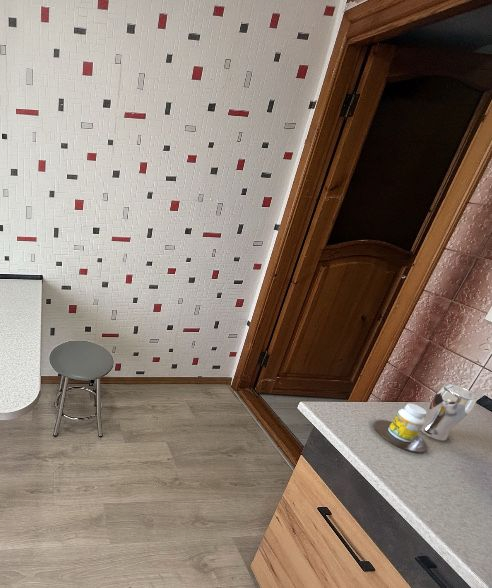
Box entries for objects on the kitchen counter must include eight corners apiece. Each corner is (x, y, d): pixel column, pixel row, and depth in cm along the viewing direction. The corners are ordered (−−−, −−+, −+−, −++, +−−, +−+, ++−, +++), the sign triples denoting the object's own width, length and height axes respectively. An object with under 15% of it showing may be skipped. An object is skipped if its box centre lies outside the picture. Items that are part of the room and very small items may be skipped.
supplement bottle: (416, 445, 89) (434, 418, 85) (391, 438, 91) (408, 411, 87) (407, 432, 93) (424, 405, 89) (384, 424, 95) (400, 398, 91)
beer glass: (426, 438, 92) (455, 396, 86) (409, 420, 99) (435, 380, 92) (455, 445, 91) (487, 402, 85) (436, 426, 97) (465, 386, 91)
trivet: (417, 432, 94) (418, 430, 94) (432, 460, 85) (433, 458, 85) (369, 416, 99) (370, 414, 99) (379, 441, 90) (380, 439, 90)
